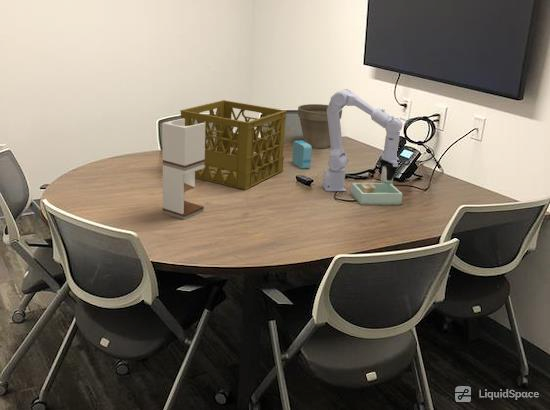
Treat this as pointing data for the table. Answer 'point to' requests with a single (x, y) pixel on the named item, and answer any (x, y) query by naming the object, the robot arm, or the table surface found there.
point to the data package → (301, 154)
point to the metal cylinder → (385, 176)
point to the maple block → (368, 188)
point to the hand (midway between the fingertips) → (386, 178)
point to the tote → (377, 194)
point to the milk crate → (239, 143)
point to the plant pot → (315, 124)
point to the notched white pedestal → (181, 166)
